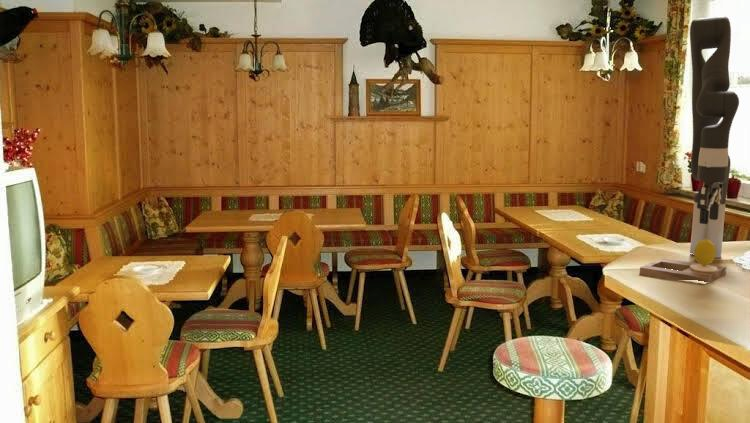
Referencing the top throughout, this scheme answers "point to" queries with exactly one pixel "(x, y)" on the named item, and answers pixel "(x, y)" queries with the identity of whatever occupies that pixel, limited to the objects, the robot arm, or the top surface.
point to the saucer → (703, 268)
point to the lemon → (705, 252)
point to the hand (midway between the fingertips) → (708, 221)
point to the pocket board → (679, 270)
